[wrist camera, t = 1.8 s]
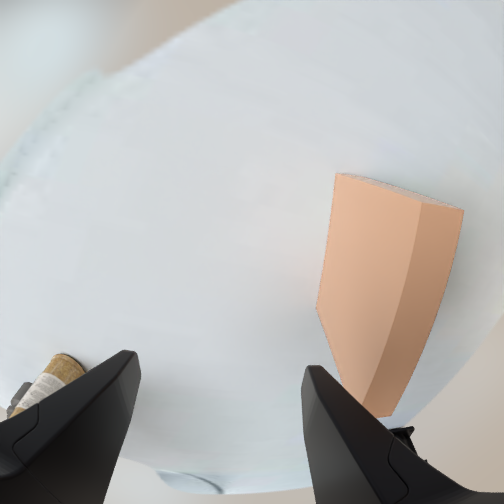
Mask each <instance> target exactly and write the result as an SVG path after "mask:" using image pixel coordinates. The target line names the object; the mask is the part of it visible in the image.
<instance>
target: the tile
mask: <svg viewBox="0 0 504 504" xmlns="http://www.w3.org/2000/svg"><path fill="white" fill-rule="evenodd" d="M463 214H464V210H462V209H460V208H457V207H454V206H452V205H449V204H446V203H443V202H441V201H438V200H435V199H432V198H429V197H426V196H424V195H421V194H418V193H415V192H412V191H409V190H405V189H402V188H399V187H396V186H393V185H389V184H386V183H383V182H379V181H376V180H373V179H369V178H366V177H361V176H354V175H347V174H340V173H336V174H335V183H334V192H333V200H332V208H331V216H330V224H329V231H328V238H327V245H326V251H325V258H324V264H323V270H322V276H321V282H320V288H319V294H318V299H317V305H316V310H317V313H318V315H319V318H320V321H321V324H322V326H323V329H324V332H325V335H326V338H327V340H328V343H329V346H330V349H331V352H332V355H333V358H334V360H335V363H336V366H337V369H338V372H339V375H340V378H341V381H342V384H343V387H344V388H345V389H346V390H347V391H348V392H349V393H350V394H351V395H352V396H353V397H354V398H355V399H356V400H357V401H358V402H359V403H360V404H361V405H362V406H364V407H365V408H366V409H367V410H368V411H369V412H370V413H371V414H372V415H373V416H374V417H375V418H380V417H387V416H391V415H392V413H393V411H394V410H395V408H396V406H397V404H398V402H399V400H400V398H401V396H402V394H403V392H404V390H405V388H406V386H407V384H408V382H409V380H410V378H411V376H412V374H413V372H414V369H415V367H416V365H417V363H418V361H419V358H420V356H421V354H422V351H423V349H424V346H425V344H426V341H427V339H428V336H429V334H430V331H431V329H432V326H433V323H434V321H435V318H436V315H437V312H438V309H439V306H440V303H441V300H442V297H443V294H444V291H445V288H446V284H447V281H448V278H449V274H450V271H451V267H452V263H453V259H454V255H455V251H456V247H457V243H458V239H459V234H460V229H461V224H462V219H463Z"/></svg>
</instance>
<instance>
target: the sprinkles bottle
mask: <svg viewBox="0 0 504 504" xmlns="http://www.w3.org/2000/svg"><path fill="white" fill-rule="evenodd" d="M83 374H85V372H84V370H83V369H82V367H81V366H80V365H79V364H78V363H77V362H76V361H75V360H73V359H72V358H70V357H69V356H67V355H63V354H57V355H54V356H53V358H52V360H51V362H50V363H49V365H48V366H47V367H46V369H45V370H44V371H43V373H41V374H40V375H39V376H38V378H37V379H36V380H35V381H34V383H33V384H32V386H31V387H30V388H29V390H28V391H27V392H26V394H25V395H24V396H23V398H22V399H21V400H20V402H19V403H18V404H17V406H16V407H15V410H14V412H13V413H12V414H11V416H10V417H9V418H11V417H13V416H15V415H16V414H18V413H20V412H22V411H24V410H25V409H27V408H29V407H31V406H32V405H34V404H36V403H39V401H41V400H42V399H44V398H46V397H47V396H49V395H51V394H52V393H54V392H55V391H57V390H59V389H60V388H62V387H64V386H65V385H67V384H69V383H70V382H72V381H73V380H75V379H77V378H78V377H80V376H82V375H83Z"/></svg>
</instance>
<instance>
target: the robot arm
mask: <svg viewBox="0 0 504 504" xmlns="http://www.w3.org/2000/svg"><path fill="white" fill-rule="evenodd" d="M140 380H141V370H140V365H139V360H138V355H137V353H136V352H135V351H129V350H122V351H120V352H119V353H117V354H115V355H114V356H112V357H111V358H109V359H107V360H106V361H104V362H103V363H101V364H99V365H98V366H96V367H94V368H93V369H91V370H90V371H88V372H86V373H85V374H83V375H82V376H80V377H78V378H77V379H75V380H73V381H72V382H70V383H69V384H67V385H65V386H64V387H62V388H60V389H59V390H57V391H55V392H54V393H52V394H51V395H49V396H47V397H46V398H44V399H42V400H41V401H39V403H36V404H34V405H32V406H31V407H29V408H27V409H25V410H24V411H22V412H20V413H18V414H16V415H15V416H13V417H11V418H9V419H7V420H4V421H2V422H0V504H103V502H104V499H105V496H106V493H107V489H108V486H109V483H110V480H111V477H112V474H113V471H114V468H115V465H116V462H117V459H118V456H119V453H120V450H121V447H122V444H123V442H124V439H125V436H126V433H127V430H128V427H129V424H130V421H131V418H132V414H133V409H134V405H135V401H136V396H137V392H138V388H139V384H140ZM301 398H302V415H303V432H304V440H305V446H306V451H307V457H308V462H309V467H310V473H311V478H312V483H313V489H314V494H315V500H316V504H504V493H490V492H477V491H472V490H469V489H467V488H464V487H463V486H461V485H459V484H458V483H456V482H455V481H453V480H452V479H450V478H448V477H447V476H446V475H444V474H442V473H441V472H440V471H438V470H437V469H435V468H434V467H432V466H431V465H430V464H428V462H427V460H423V459H421V458H420V457H419V456H418V455H417V452H416V450H415V448H414V445H413V443H412V441H411V439H410V436H411V434H412V433H413V431H414V427H413V426H410V427H406V428H400V429H394V430H388V429H387V428H386V427H385V426H384V425H383V424H382V423H380V422H379V421H378V420H377V419H376V418H375V417H374V416H373V415H372V414H371V413H370V412H369V411H368V410H367V409H366V408H365V407H364V406H362V405H361V404H360V403H359V402H358V401H357V400H356V399H355V398H354V397H353V396H352V395H351V394H350V393H349V392H348V391H347V390H346V389H345V388H344V387H343V386H342V385H341V384H340V383H339V382H337V381H336V380H335V379H334V378H333V377H332V376H331V375H330V374H329V373H328V372H327V371H326V370H325V369H324V368H323V367H322V366H320V365H308V366H307V367H306V369H305V373H304V378H303V382H302V387H301Z"/></svg>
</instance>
